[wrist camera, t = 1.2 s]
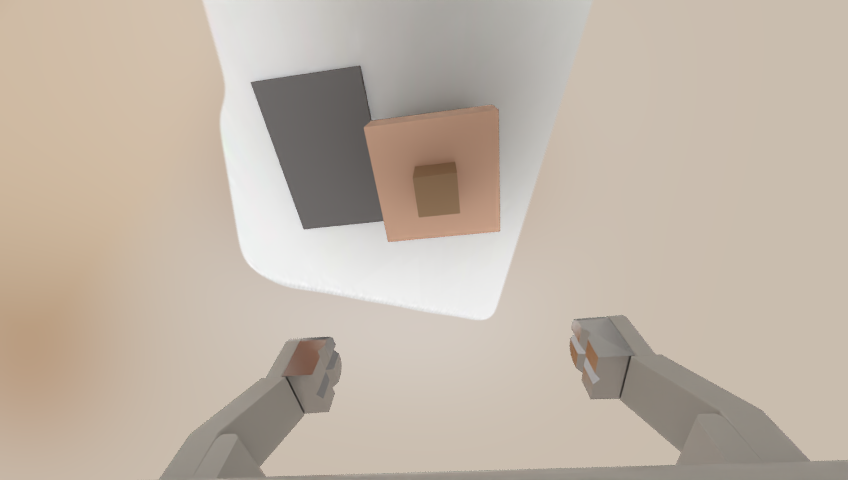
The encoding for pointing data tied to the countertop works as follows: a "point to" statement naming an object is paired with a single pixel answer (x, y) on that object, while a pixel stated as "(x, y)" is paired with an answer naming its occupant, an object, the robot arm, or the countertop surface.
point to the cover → (437, 172)
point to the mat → (323, 144)
